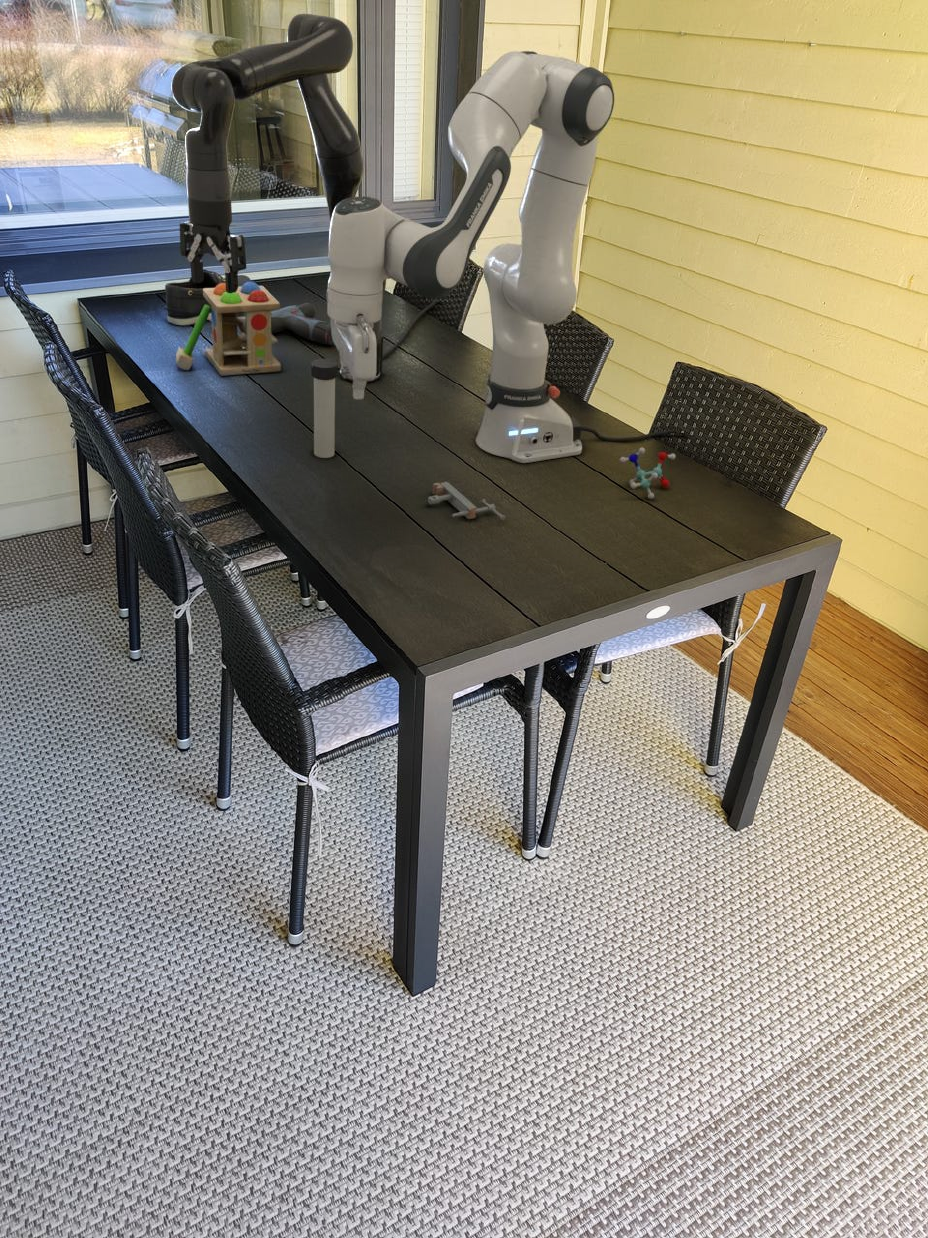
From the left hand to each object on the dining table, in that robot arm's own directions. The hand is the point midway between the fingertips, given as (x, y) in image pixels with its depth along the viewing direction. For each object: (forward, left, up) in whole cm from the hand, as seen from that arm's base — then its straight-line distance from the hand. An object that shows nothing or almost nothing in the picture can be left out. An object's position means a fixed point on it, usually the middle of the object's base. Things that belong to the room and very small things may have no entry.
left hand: (214, 287), depth 183 cm
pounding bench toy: (-28, -27, -29) cm, 48 cm away
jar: (-6, +21, -29) cm, 37 cm away
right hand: (+7, +38, -7) cm, 39 cm away
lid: (-6, +21, -11) cm, 25 cm away
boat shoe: (-55, -58, -29) cm, 85 cm away
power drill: (-59, -27, -29) cm, 72 cm away
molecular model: (-37, +77, -29) cm, 90 cm away
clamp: (-5, +55, -29) cm, 62 cm away
